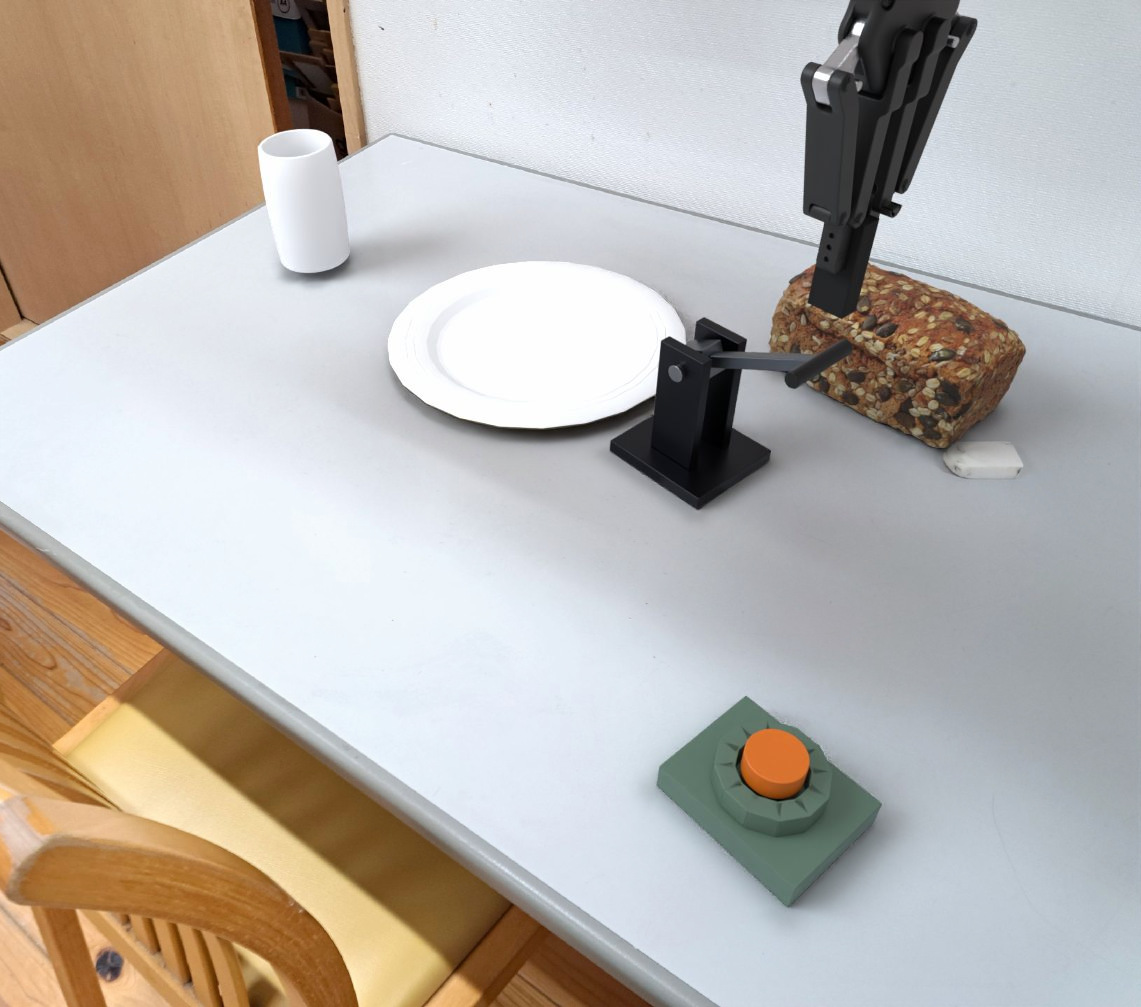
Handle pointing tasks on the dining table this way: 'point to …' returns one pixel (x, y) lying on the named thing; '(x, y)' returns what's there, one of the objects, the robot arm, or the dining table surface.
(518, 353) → the plate
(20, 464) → the dining table surface
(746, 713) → the control block
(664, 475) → the bracket
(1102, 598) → the dining table surface
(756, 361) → the lever
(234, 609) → the dining table surface
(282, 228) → the cup
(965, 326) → the bread
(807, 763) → the button
